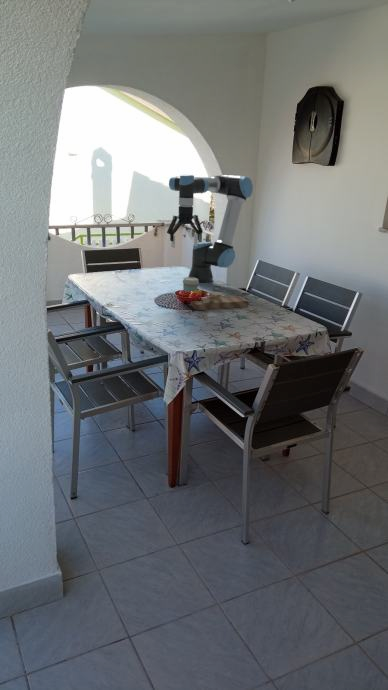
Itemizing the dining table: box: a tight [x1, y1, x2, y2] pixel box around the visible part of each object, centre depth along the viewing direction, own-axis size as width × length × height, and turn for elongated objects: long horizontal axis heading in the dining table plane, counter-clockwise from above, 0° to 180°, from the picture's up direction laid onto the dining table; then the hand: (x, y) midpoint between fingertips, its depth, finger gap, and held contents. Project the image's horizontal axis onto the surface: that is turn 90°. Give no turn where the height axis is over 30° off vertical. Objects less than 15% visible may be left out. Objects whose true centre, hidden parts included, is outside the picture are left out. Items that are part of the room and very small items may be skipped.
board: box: [188, 295, 249, 311], centre depth 263 cm, size 30×10×3 cm, turn 116°
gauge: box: [200, 291, 223, 303], centre depth 258 cm, size 12×6×4 cm, turn 126°
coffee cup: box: [182, 276, 200, 292], centre depth 266 cm, size 9×9×12 cm
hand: (184, 246), depth 275 cm, fingers open, 13 cm apart
